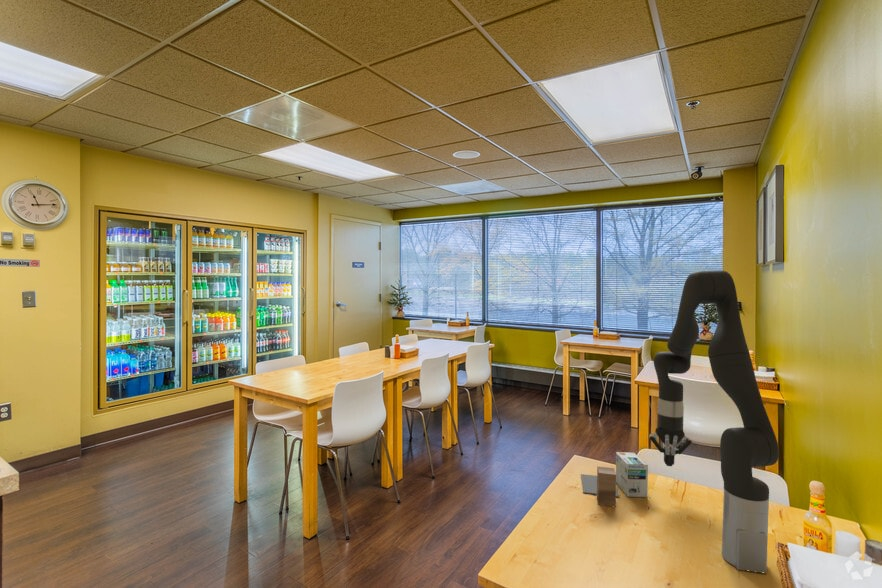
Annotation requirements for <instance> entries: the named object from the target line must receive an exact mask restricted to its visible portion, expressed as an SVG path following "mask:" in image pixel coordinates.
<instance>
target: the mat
mask: <svg viewBox="0 0 882 588" xmlns="http://www.w3.org/2000/svg"><path fill="white" fill-rule="evenodd" d="M580 478H581V486H582V491H583V494H587V495H595V496H597V475H592V474H584V473H583V474H582V473H581V474H580ZM618 497H619V498H620V494H619V491H618V488H617V486H616V498H618Z"/></svg>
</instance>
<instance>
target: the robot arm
mask: <svg viewBox="0 0 882 588" xmlns="http://www.w3.org/2000/svg"><path fill="white" fill-rule="evenodd" d="M736 288H737V287H736V284H735V280H734V278H733V276H732V275H731V274H730V272H729V271H725V270H719V269H718V270H697V271H692V272H691V273H690V274H688V276H687V277H686V279H685V281H684V285H683V288H682V292H681V297H680V301H679V302H680V303H679V307H678V312H677V317H676V321H675V324H674V327H673V328H672V331H671V333H670V336H669V337H668V338H669V339H668V340H667V344H666V347H667V350H668V351H659V352H657V353H656V354H654V356H653V367H654V369H655V373H656V377H657V378H656V379H657V382H658V399H657V400H658V402H657V408H656V411H657V413H656V414H657V416H656V417H657V423H656V428H655V431H654V432H653V433H652V434H651V433H649V434H648V438H649V440H650V441H651V442H652V444H653V445H654V446H655V447H656V448H657V450H658V451H659V452H660V453H663V463H664V464H665V465H666V467H673V466H674V465H675V456H676V455H682V453H683V452H684V451H685V450H686V449H687V448H688V447H689V446H690V445H691V444H692V440H691V439H690V438H689V437H687V436H686V434H685V431H684V408H685V407H684V385H683V383H682V382H680V381H678V380H675V379H670V376H669V374H672V375H673V374H674V375H675V374H678V375H683V374H686V373H687V372H688V371H690V369H691V364H692V361H691V359H692V352H693V349H694V346H695V345H696V343H697V340H698V339H699V335H700V327H699V324H698V320H697V318H696V315H695V313H696V310H697V308H698V307H699V306H700V305H708V304H715V306H716V311H717V312H716V313H717V325H716V328H715V330H714V333H713V336H712V337H711V340H710V342H709V346H708V349H707V356H708V359H709V365H710V369H711V372H712V376H713V377H714V379H715V381H716V382H717V383H718V385H719V387H720V388H721V389H722V391H724V392H725V394H727V397H729V398H730V399H731V400H732V402H733V403H734V405H735V406H736V408H737V411H738V412H739V415H740V417H741V421H742V423H743V424H742V425H743V427H741V426H740V427H729V428H726V429H725V430H724V431H722V433H721V437H720V444H719V445H720V446H719V449H720V450H719V453H720V455H719V456H720V472H721V477H722V481H723V499H722V501H723V505H722V507H723V508H722V529H721V530H722V532H721V533H722V534H721V539H722V540H721V541H722V542H721V555H722V557H723V559H724V560H725V561H726V562H727V563H729V564H731V565H732V566H733V567H735V568H736V570H738V571H744V570H749V571H748V572H750V571H756V572H755V573H757V572H764V573H766V574H767V567H768V544H769V543H768V539H769V538H768V537H769V536H768V535H769V508H770V506H769V505H770V487H769V486H768V484H767V483H766V482H764V481H763V480H761V479H759V478H757V477H754V476H753V468H754V467H755V468H756V467H771V466H774V465H775V464H776V463H778V461H779V458H780V447H779V443H778V440H777V437H776V434H775V431H774V428H773V426H772V424H771V420H770V418H769V415H768V413H767V410H766V408H765V405H764V404H765V403H764V401H763V399H762V395H761V392H760V389H759V385H758V382H757V378H756V375H755V374H756V373H755V369H754V365H753V360H752V357H751V354H750V351H749V350H750V349H749V348H748V344H747V341H746V336H745V331H744V329H743V324H742V320H741V314H740V308H739V301H738V295H737V289H736ZM658 438H659V439H658ZM658 440H660V441H661V442H662V446H663V447H662V446H661V444H660V443H659V442H658ZM679 443H680V444H679ZM678 444H679V445H678Z"/></svg>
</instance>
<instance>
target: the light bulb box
mask: <svg viewBox="0 0 882 588" xmlns="http://www.w3.org/2000/svg"><path fill="white" fill-rule="evenodd" d="M615 473H616V485H617V486H618V487H619V488H620V489H621V491H622V492H623V493H624V494H625V496H627V497H629V498H648V494H649V493H648V485H649V483H648V481H649V477H648V476H649V464H648V463H647V462H646V461H644V460H643V459H642V458H641V457H639V455H638V454H636V453H635V452H625V451H624V452H621V451H615Z"/></svg>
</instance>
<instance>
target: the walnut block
mask: <svg viewBox="0 0 882 588" xmlns="http://www.w3.org/2000/svg"><path fill="white" fill-rule="evenodd" d="M596 469H597V470H596V472H597V473H596V476H597V495H596V500H597V505H598V506H605V507H612V506H615V507H616V504H617V503H616V499H617V497H616V487H617V483H616V469H615V467H607V466H597V468H596Z"/></svg>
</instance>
